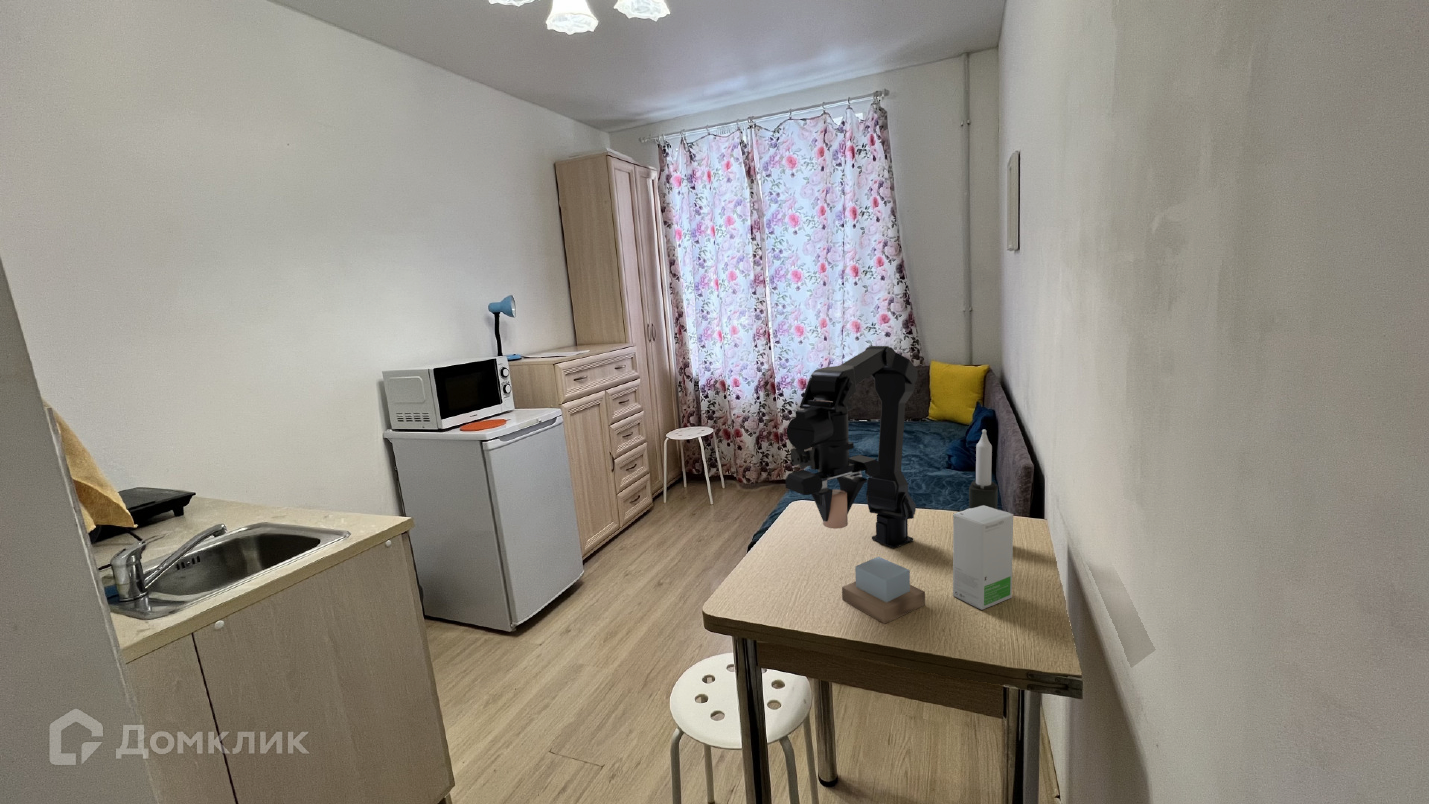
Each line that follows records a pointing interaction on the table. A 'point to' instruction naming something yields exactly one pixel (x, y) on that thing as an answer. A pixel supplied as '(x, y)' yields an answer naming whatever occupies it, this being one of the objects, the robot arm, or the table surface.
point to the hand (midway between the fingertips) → (835, 517)
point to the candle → (983, 477)
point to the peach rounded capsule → (837, 510)
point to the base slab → (880, 608)
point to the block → (882, 579)
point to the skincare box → (982, 556)
